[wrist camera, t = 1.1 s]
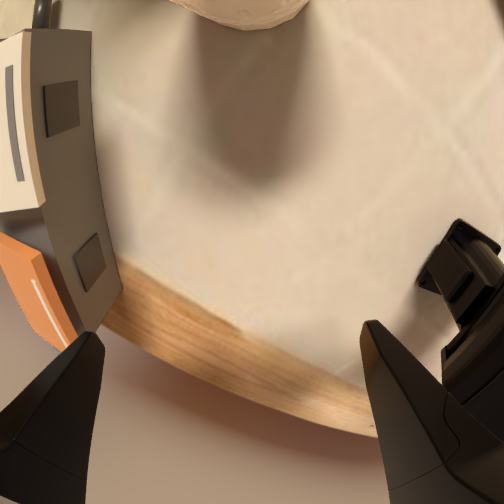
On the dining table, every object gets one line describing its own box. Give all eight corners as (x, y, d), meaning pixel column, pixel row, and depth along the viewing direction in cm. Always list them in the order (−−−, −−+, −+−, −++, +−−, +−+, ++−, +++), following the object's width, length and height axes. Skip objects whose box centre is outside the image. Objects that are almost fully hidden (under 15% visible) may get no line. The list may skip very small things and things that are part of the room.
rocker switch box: (99, -26, 10) (11, -49, 2) (124, 288, 25) (80, 363, 17) (25, 9, 10) (-56, 15, 3) (61, 276, 25) (14, 336, 18)
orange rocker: (41, 252, 12) (29, 261, 11) (91, 360, 17) (84, 368, 16) (-4, 229, 14) (-12, 236, 13) (39, 324, 19) (33, 330, 18)
